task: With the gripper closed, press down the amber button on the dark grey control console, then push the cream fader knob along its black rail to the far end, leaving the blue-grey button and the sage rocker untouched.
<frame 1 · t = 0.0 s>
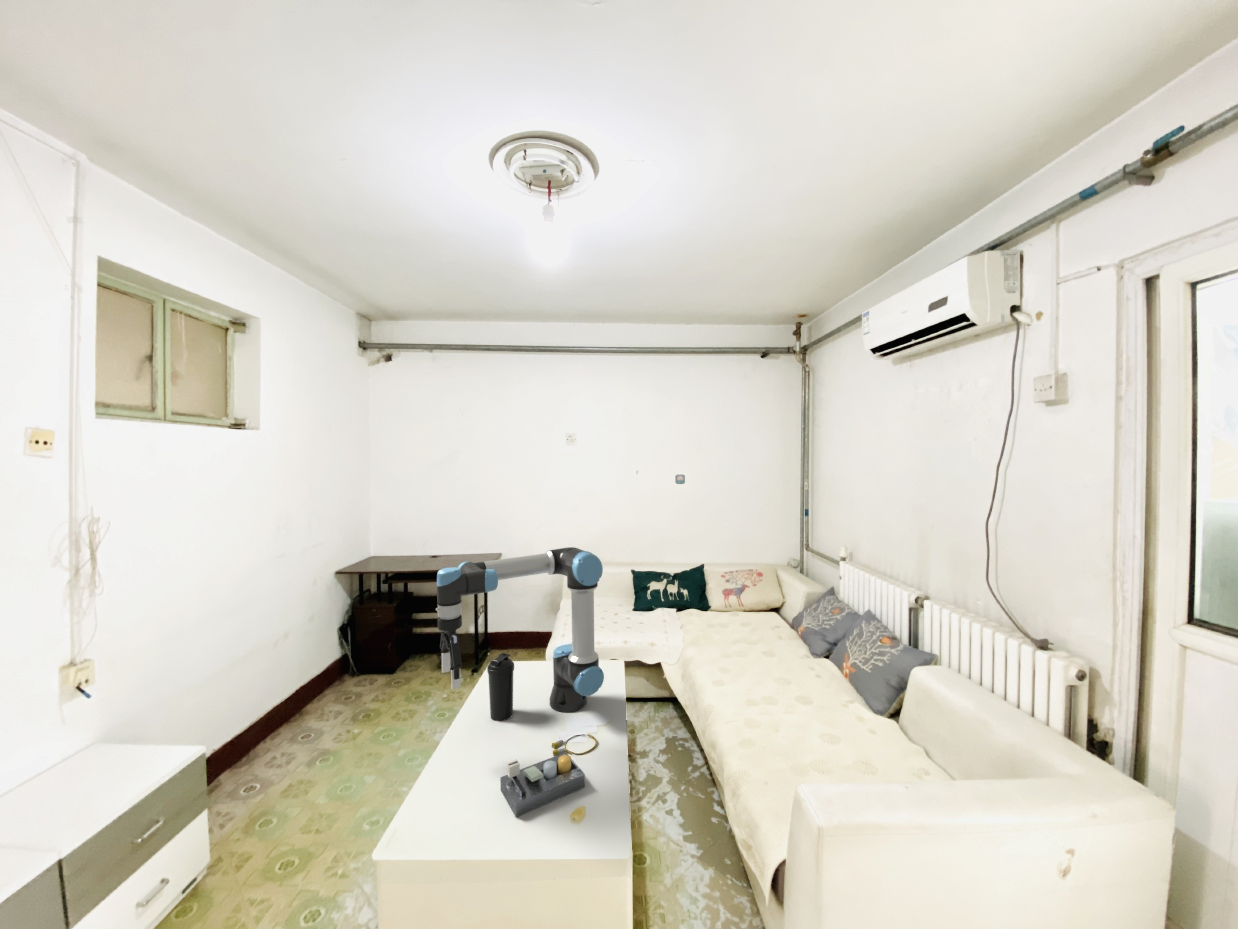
hand: (451, 679, 157), 28 cm above the table, fingers open, 13 cm apart
console: (542, 788, 145), on the table
sage rocker: (533, 773, 144), point 6 cm above the table, hinge at 12.0°
water bottle: (501, 715, 187), on the table
extension cord: (574, 747, 167), on the table
amber button: (564, 765, 149), point 4 cm above the table, slide at 0.0 cm
blue-grey button: (550, 771, 147), point 4 cm above the table, slide at 0.0 cm
fader knob: (513, 768, 144), point 7 cm above the table, slide at 0.0 cm
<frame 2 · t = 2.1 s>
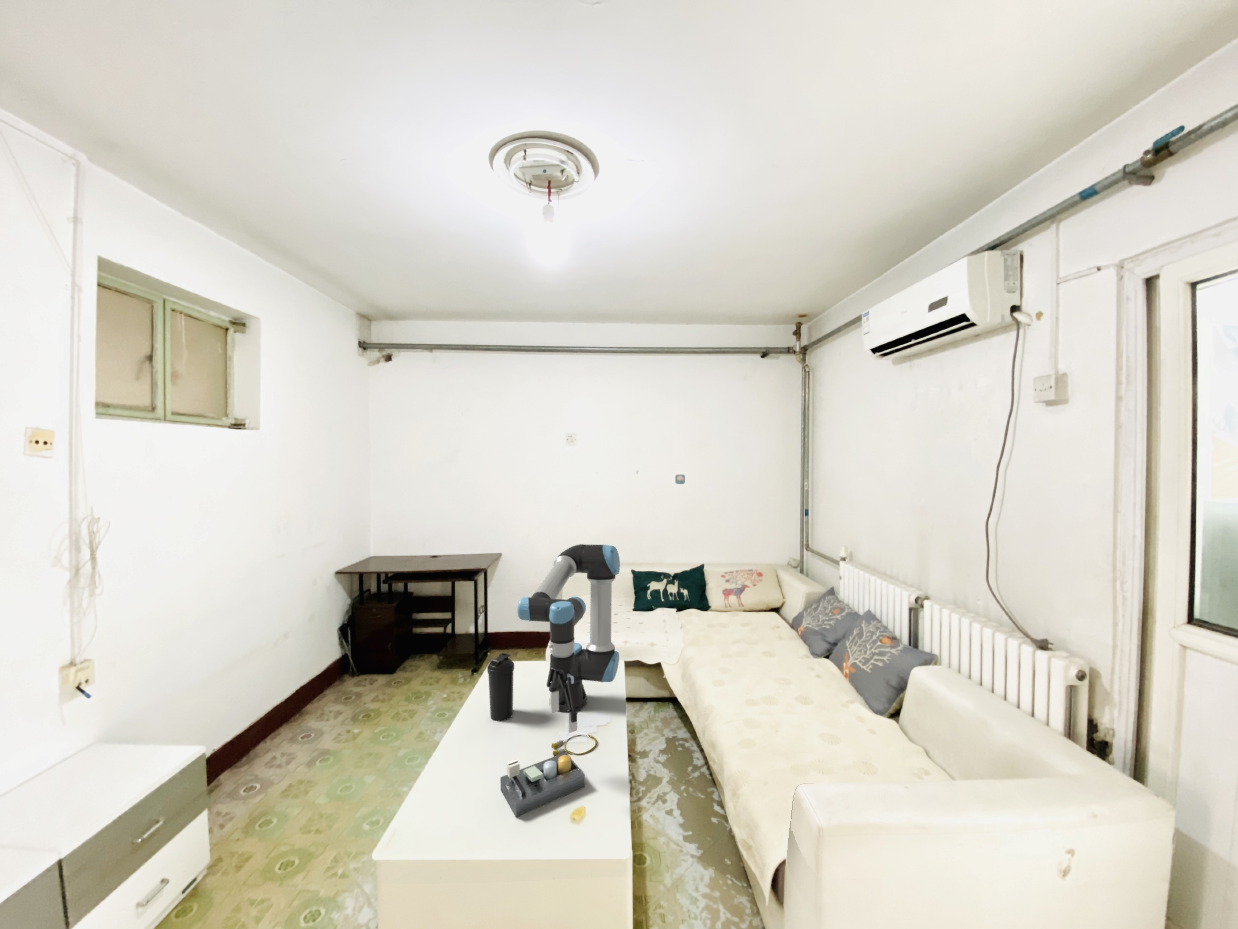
hand: (563, 721, 149), 19 cm above the table, fingers open, 12 cm apart
nothing on the table moved.
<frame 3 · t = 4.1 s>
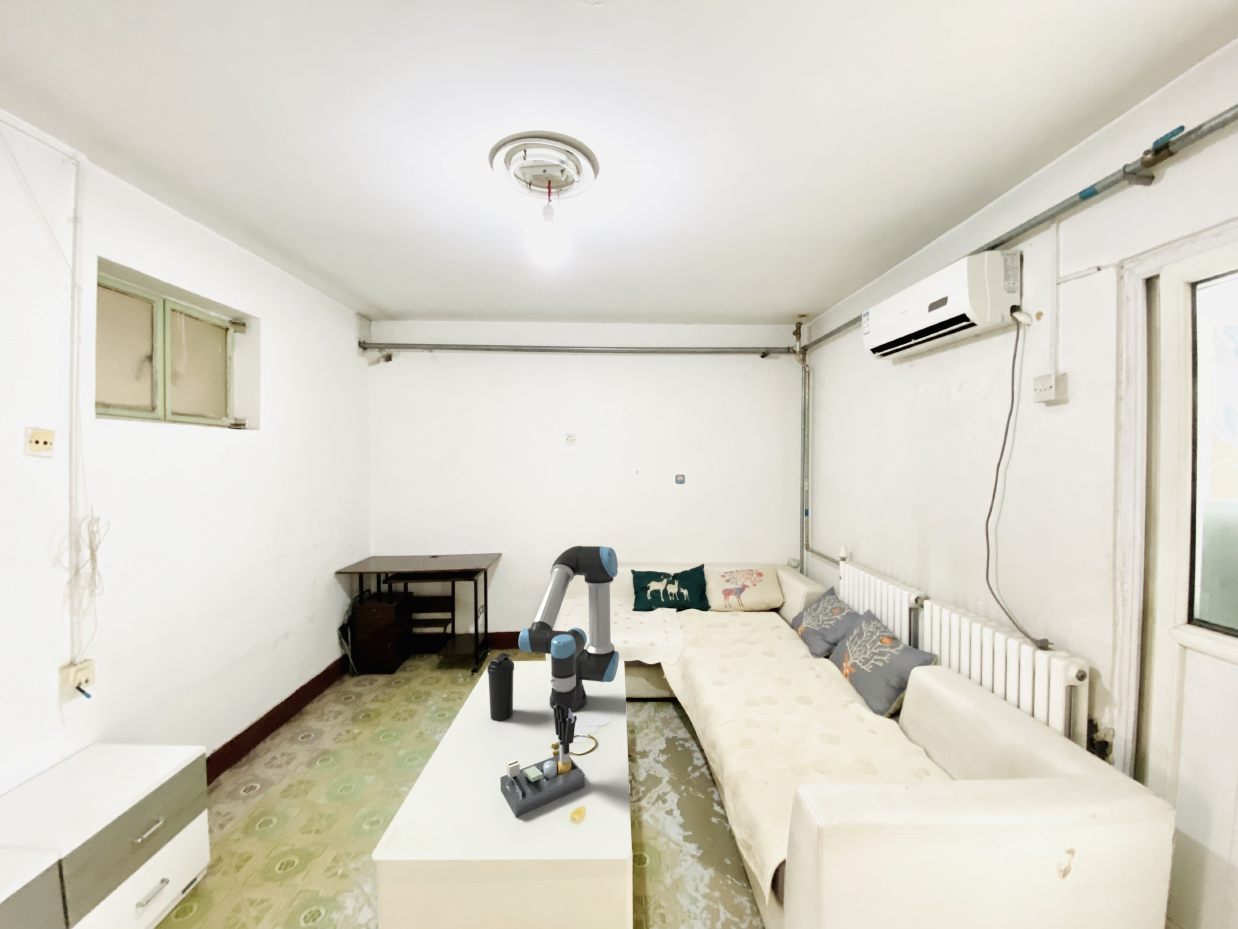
hand: (564, 761, 149), 6 cm above the table, fingers closed
amber button: (564, 768, 149), point 3 cm above the table, slide at 1.0 cm, touching gripper
everything else where it was.
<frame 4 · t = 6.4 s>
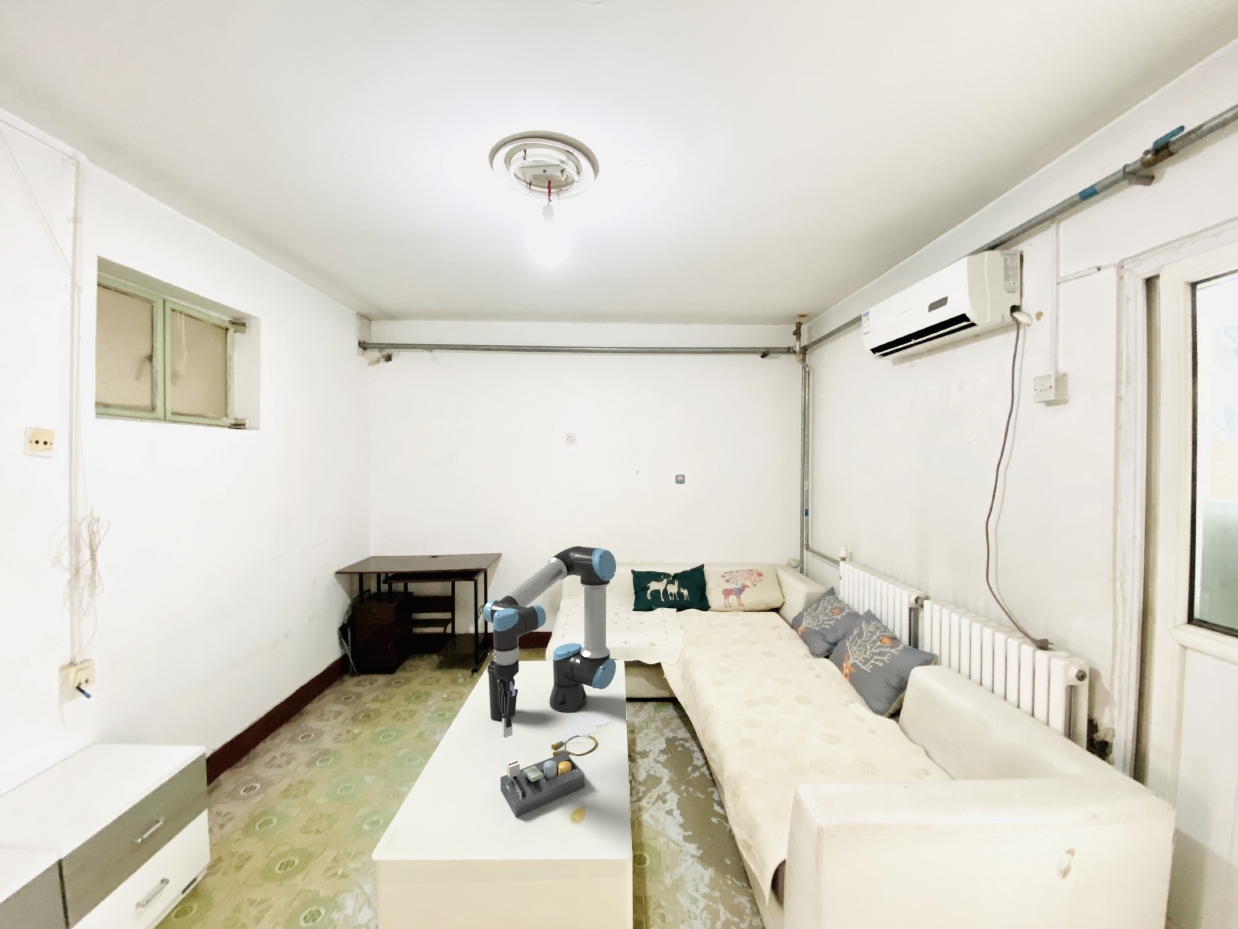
hand: (507, 735, 149), 14 cm above the table, fingers closed
amber button: (564, 771, 149), point 2 cm above the table, slide at 2.0 cm
everything else where it was.
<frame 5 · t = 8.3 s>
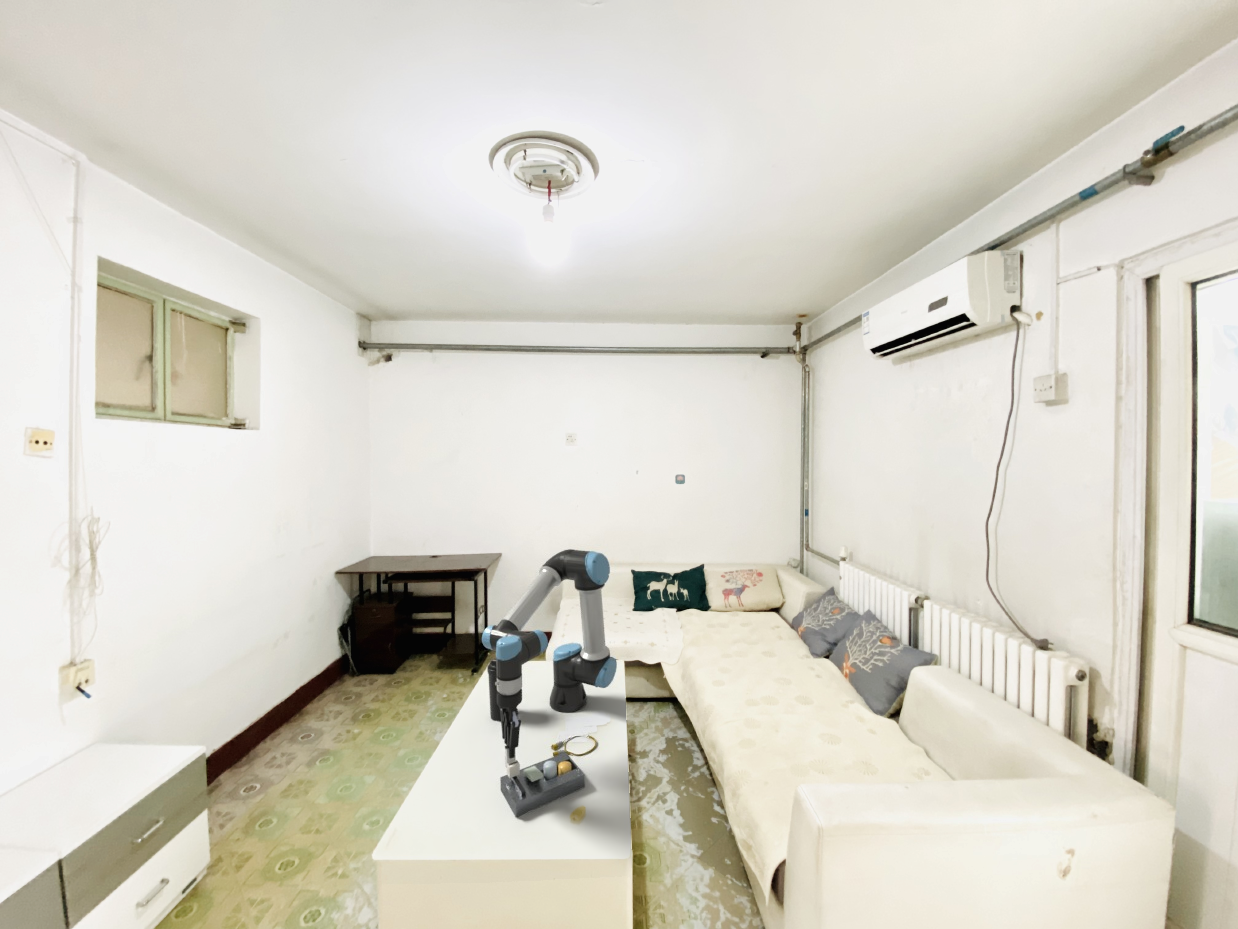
hand: (510, 766, 145), 7 cm above the table, fingers closed
fader knob: (513, 768, 144), point 7 cm above the table, slide at 0.1 cm, touching gripper
everything else where it was.
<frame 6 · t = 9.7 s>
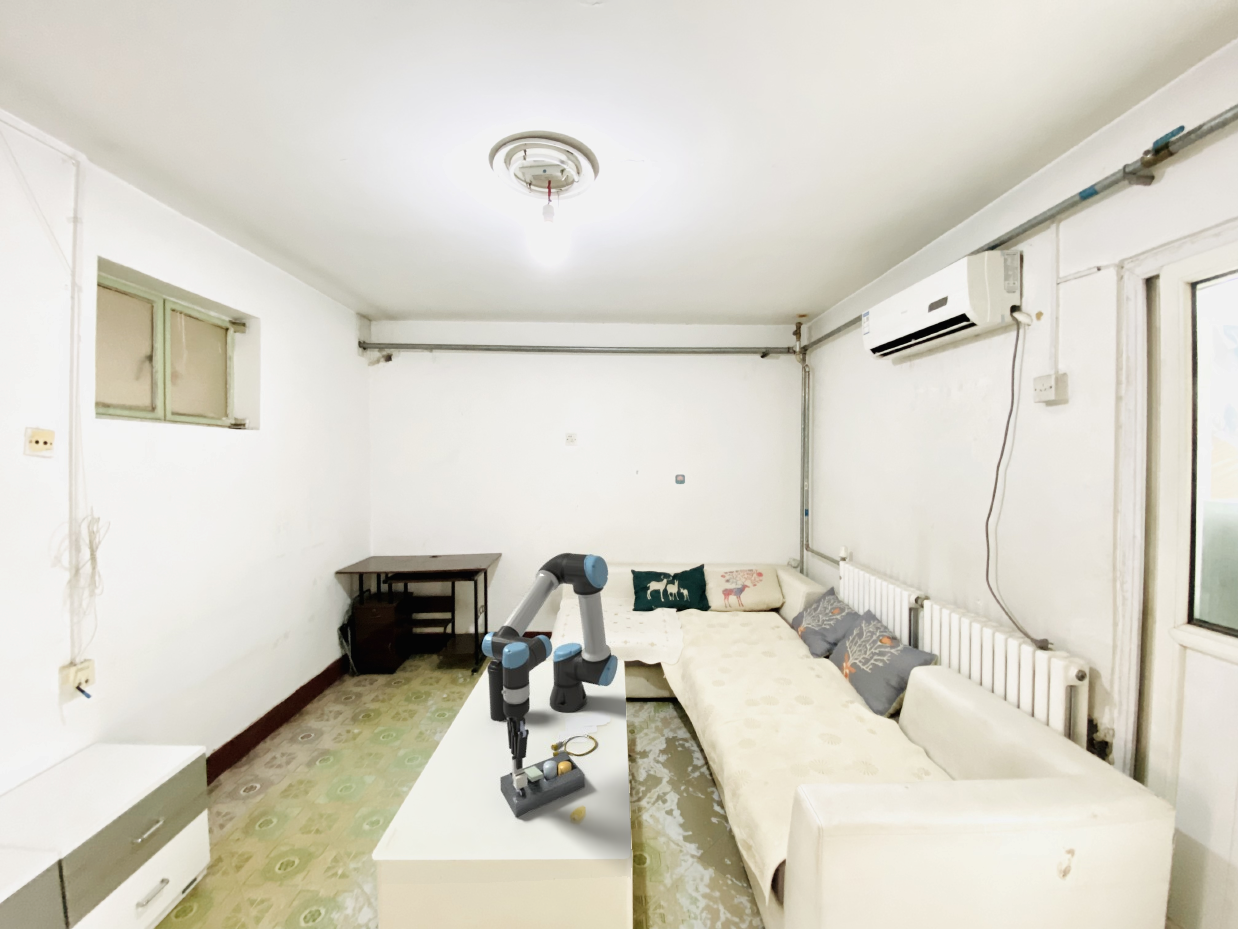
hand: (517, 777, 140), 7 cm above the table, fingers closed
fader knob: (520, 779, 139), point 7 cm above the table, slide at 5.9 cm, touching gripper
everything else where it was.
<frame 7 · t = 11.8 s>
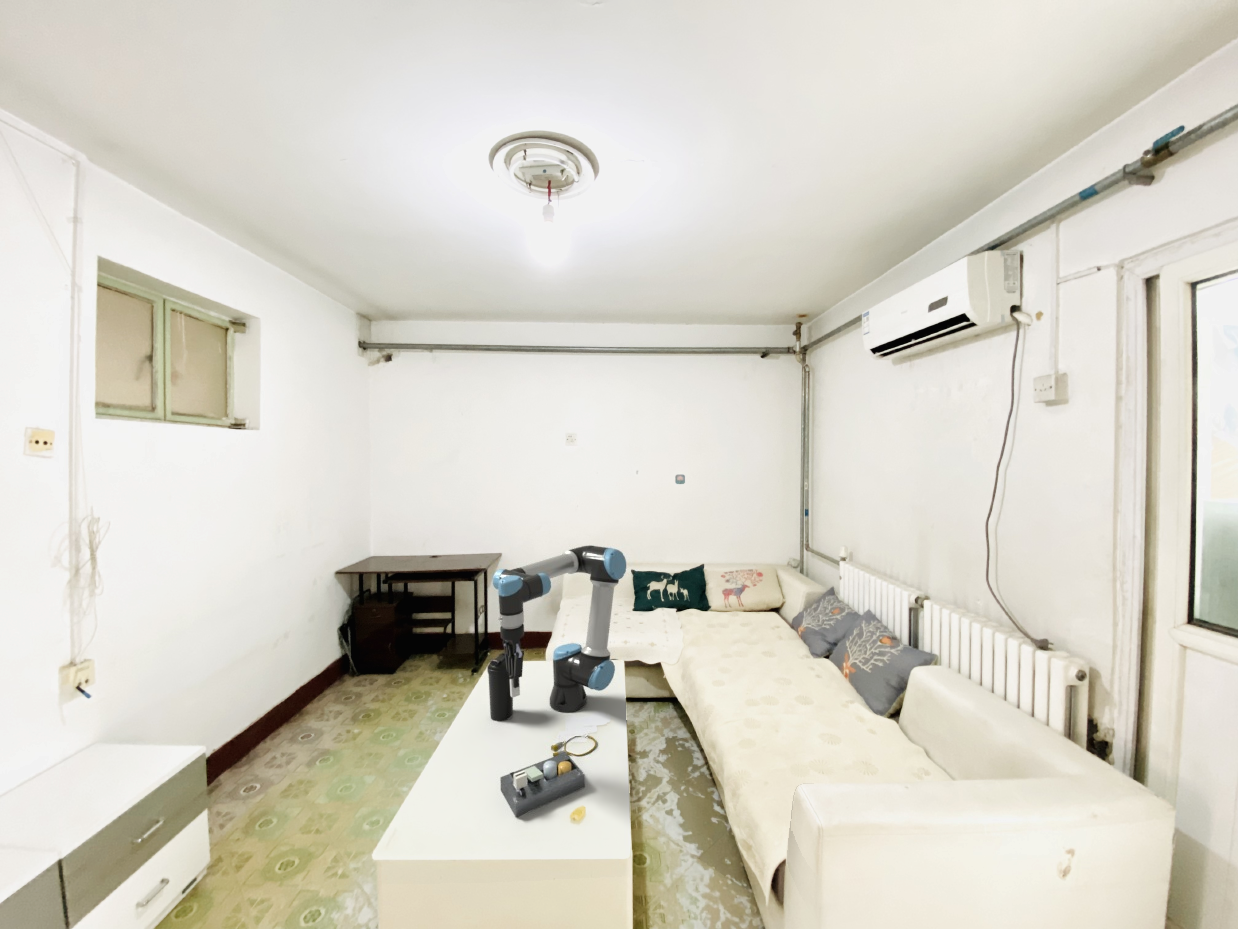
hand: (515, 695, 156), 23 cm above the table, fingers closed
fader knob: (520, 779, 139), point 7 cm above the table, slide at 5.9 cm
everything else where it was.
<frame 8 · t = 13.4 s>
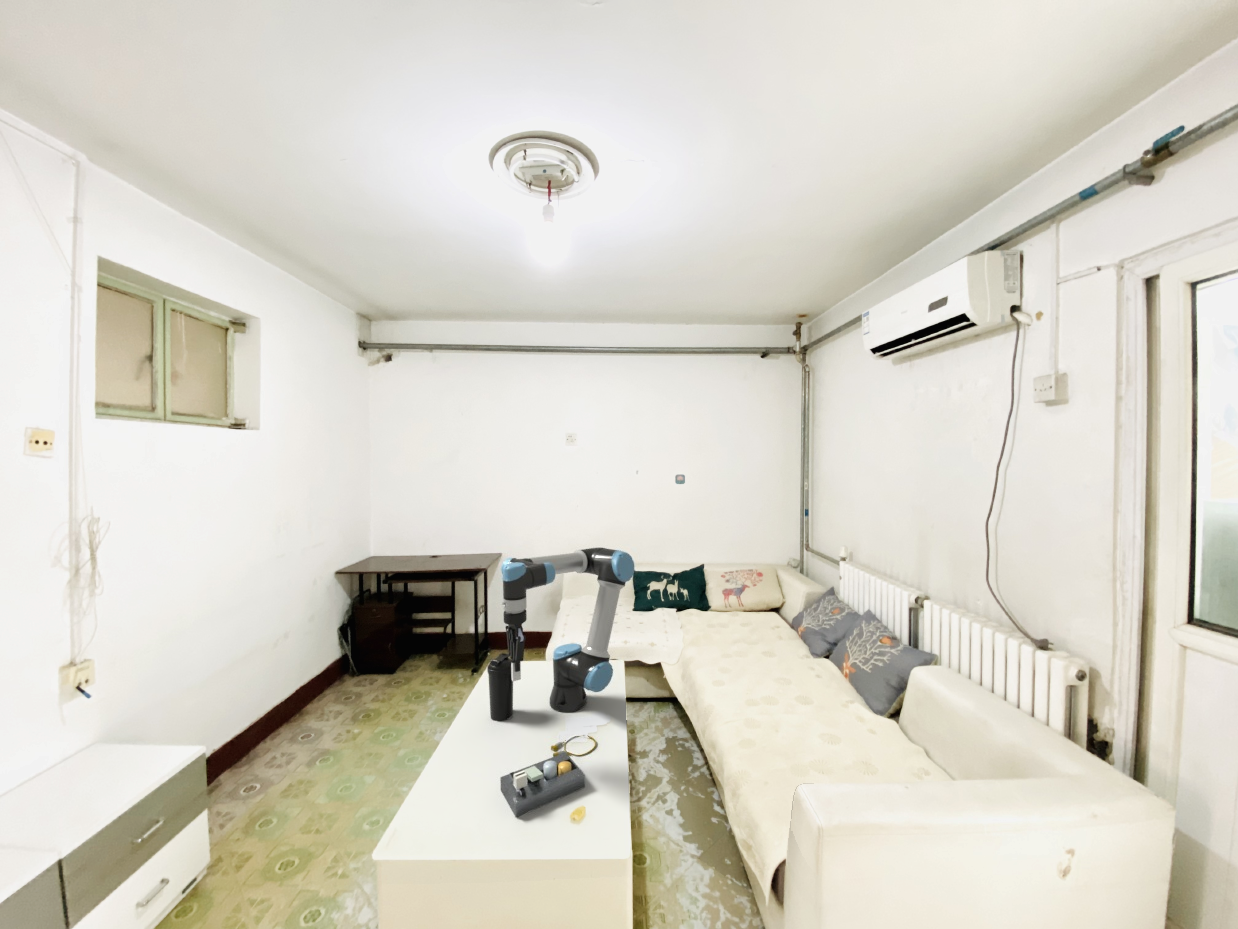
hand: (516, 679, 160), 26 cm above the table, fingers closed
nothing on the table moved.
at the end: amber button slide at 2.0 cm; fader knob slide at 5.9 cm; blue-grey button slide at 0.0 cm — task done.
